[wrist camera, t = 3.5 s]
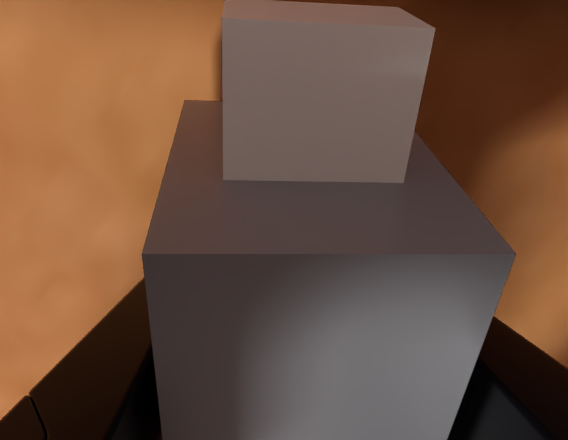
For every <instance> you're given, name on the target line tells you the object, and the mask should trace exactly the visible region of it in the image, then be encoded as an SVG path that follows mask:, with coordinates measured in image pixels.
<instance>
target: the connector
mask: <svg viewBox="0 0 568 440" xmlns="http://www.w3.org/2000/svg"><path fill="white" fill-rule="evenodd" d="M435 29H436V28H434V27H432V26H431V25H429V24H427V23H425V22H424V21H422V20H420V19H418V18H417V17H415V16H413V15H411V14H410V13H408V12H406V11H404V10H403V9H401V8H399V7H389V6H370V5H351V4H332V3H312V2H293V1H274V0H224V7H223V15H222V96H223V101H197V100H185V101H184V104H183V108H182V111H181V115H180V119H179V122H178V126H177V129H176V133H175V137H174V140H173V144H172V147H171V151H170V155H169V158H168V162H167V165H166V169H165V173H164V176H163V180H162V183H161V187H160V191H159V194H158V198H157V201H156V205H155V209H154V212H153V216H152V219H151V223H150V227H149V230H148V234H147V237H146V241H145V245H144V248H143V252H142V260H143V269H144V277H145V286H146V295H147V304H148V313H149V322H150V331H151V340H152V349H153V358H154V367H155V376H156V385H157V394H158V403H159V412H160V421H161V430H162V439H163V440H447V438H448V436H449V433H450V430H451V428H452V425H453V422H454V420H455V417H456V414H457V412H458V409H459V406H460V404H461V401H462V398H463V396H464V393H465V390H466V388H467V385H468V382H469V380H470V377H471V374H472V371H473V369H474V366H475V363H476V361H477V358H478V355H479V353H480V350H481V347H482V345H483V342H484V339H485V337H486V334H487V331H488V329H489V326H490V323H491V321H492V318H493V315H494V312H495V310H496V307H497V304H498V302H499V299H500V296H501V294H502V291H503V288H504V286H505V283H506V280H507V278H508V275H509V272H510V270H511V267H512V264H513V262H514V259H515V256H516V253H515V252H514V251H513V250H512V248H511V247H510V246H509V245H508V243H507V242H506V241H505V240H504V239H503V237H502V236H501V235H500V234H499V233H498V231H497V230H496V229H495V228H494V227H493V225H492V224H491V223H490V222H489V220H488V219H487V218H486V217H485V216H484V214H483V213H482V212H481V211H480V210H479V208H478V207H477V206H476V205H475V203H474V202H473V201H472V200H471V199H470V197H469V196H468V195H467V194H466V193H465V191H464V190H463V189H462V188H461V186H460V185H459V184H458V183H457V182H456V180H455V179H454V178H453V177H452V176H451V174H450V173H449V172H448V171H447V169H446V168H445V167H444V166H443V165H442V163H441V162H440V161H439V160H438V159H437V157H436V156H435V155H434V154H433V153H432V151H431V150H430V149H429V148H428V146H427V145H426V144H425V143H424V142H423V140H422V139H421V138H420V137H419V136H418V134H417V133H416V132H415V131H414V130H415V125H416V120H417V116H418V111H419V106H420V101H421V96H422V92H423V87H424V82H425V77H426V72H427V67H428V63H429V58H430V53H431V48H432V43H433V39H434V34H435Z"/></svg>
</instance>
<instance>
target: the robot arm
mask: <svg viewBox="0 0 568 440" xmlns="http://www.w3.org/2000/svg"><path fill="white" fill-rule="evenodd" d="M0 440H163V439H162V430H161V421H160V412H159V403H158V394H157V385H156V376H155V367H154V358H153V349H152V340H151V331H150V322H149V313H148V304H147V295H146V286H145V277H144V278H143V279H142V280H141V281H140V282H139V283H138V284H137V285H136V286H135V287H134V288H133V289H132V290H131V291H130V292H129V293H128V294H127V295H126V296H125V297H124V298H123V299H122V300H121V301H120V302H119V303H118V304H117V305H116V306H115V307H114V308H113V309H112V310H111V311H110V312H109V313H108V314H107V315H106V316H105V317H104V318H103V319H102V320H101V321H100V322H99V323H98V324H97V325H96V326H95V327H94V328H93V329H92V330H91V331H90V332H89V333H88V334H87V335H86V336H85V337H84V338H83V339H82V340H81V341H80V342H79V343H78V344H77V345H76V346H75V347H74V348H73V349H72V350H71V351H70V352H69V353H68V354H67V355H66V356H65V357H64V358H63V359H62V360H61V361H60V362H59V363H58V364H57V365H56V366H55V367H54V368H53V369H52V370H51V371H50V372H49V373H48V374H47V375H46V376H45V377H44V378H43V379H42V380H41V381H40V382H39V383H38V384H37V385H36V386H35V387H33V388H32V389H31V390H30V392H29V396H28V395H27V396H24V397H23V398H22V399H21V400H20V401H19V402H18V403H17V404H16V405H15V406H14V407H13V408H12V409H11V410H10V411H9V412H8V413H7V414H6V415H5V416H4V417H3V418H2V419H1V420H0ZM447 440H568V368H567V367H565V366H564V365H562V364H561V363H559V362H558V361H557V360H555V359H554V358H552V357H551V356H550V355H548V354H547V353H545V352H544V351H542V350H541V349H540V348H538V347H537V346H535V345H534V344H533V343H531V342H530V341H528V340H527V339H525V338H524V337H523V336H521V335H520V334H518V333H517V332H515V331H514V330H513V329H511V328H510V327H508V326H507V325H506V324H504V323H503V322H501V321H500V320H498V319H497V318H496V317H494V316H493V318H492V321H491V323H490V326H489V329H488V331H487V334H486V337H485V339H484V342H483V345H482V347H481V350H480V353H479V355H478V358H477V361H476V363H475V366H474V369H473V371H472V374H471V377H470V380H469V382H468V385H467V388H466V390H465V393H464V396H463V398H462V401H461V404H460V406H459V409H458V412H457V414H456V417H455V420H454V422H453V425H452V428H451V430H450V433H449V436H448V438H447Z"/></svg>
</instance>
